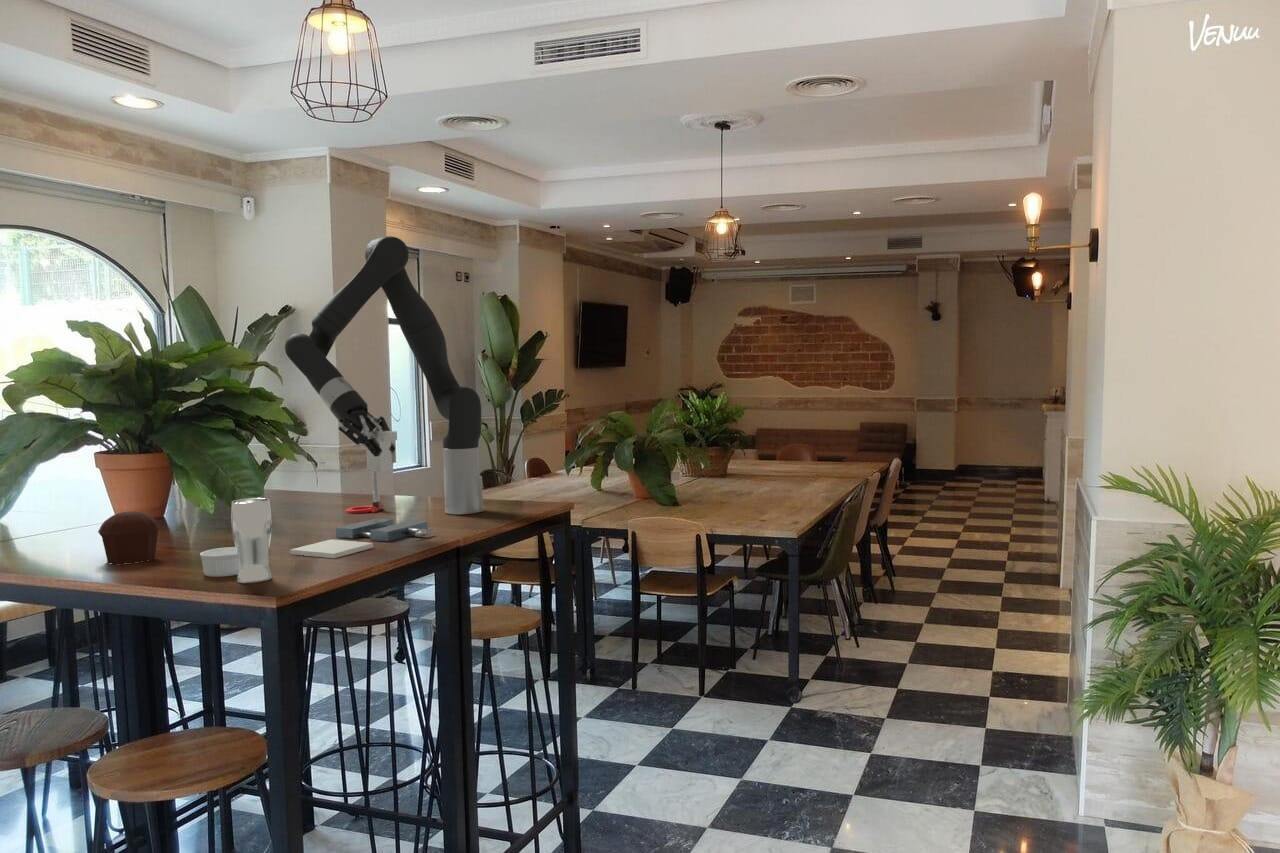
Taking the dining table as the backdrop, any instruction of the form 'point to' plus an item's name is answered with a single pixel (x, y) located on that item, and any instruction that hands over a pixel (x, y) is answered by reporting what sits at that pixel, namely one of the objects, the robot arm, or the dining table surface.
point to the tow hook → (376, 501)
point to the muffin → (129, 537)
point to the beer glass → (252, 538)
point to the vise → (383, 529)
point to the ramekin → (220, 562)
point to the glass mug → (385, 458)
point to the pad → (331, 548)
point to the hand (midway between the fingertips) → (385, 452)
